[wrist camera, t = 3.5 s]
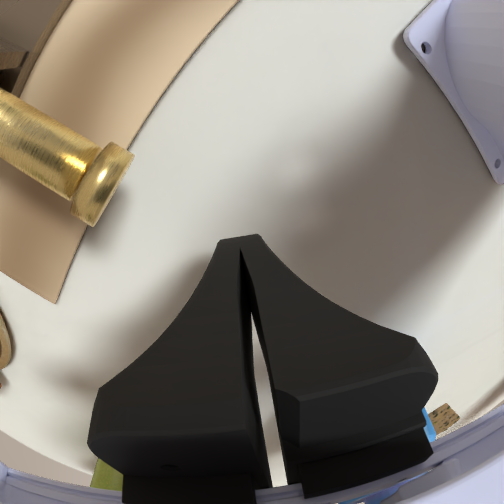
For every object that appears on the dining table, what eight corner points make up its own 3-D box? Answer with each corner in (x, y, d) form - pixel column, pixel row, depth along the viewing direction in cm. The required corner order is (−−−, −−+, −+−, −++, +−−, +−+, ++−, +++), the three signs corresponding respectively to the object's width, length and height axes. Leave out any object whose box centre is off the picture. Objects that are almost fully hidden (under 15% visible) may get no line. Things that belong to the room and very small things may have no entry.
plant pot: (116, 465, 27) (112, 529, 20) (67, 431, 22) (55, 509, 15) (190, 465, 27) (193, 536, 20) (151, 432, 22) (149, 526, 15)
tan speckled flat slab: (358, 449, 31) (360, 455, 30) (445, 399, 27) (448, 405, 27) (390, 455, 36) (392, 460, 36) (459, 415, 33) (462, 420, 32)
